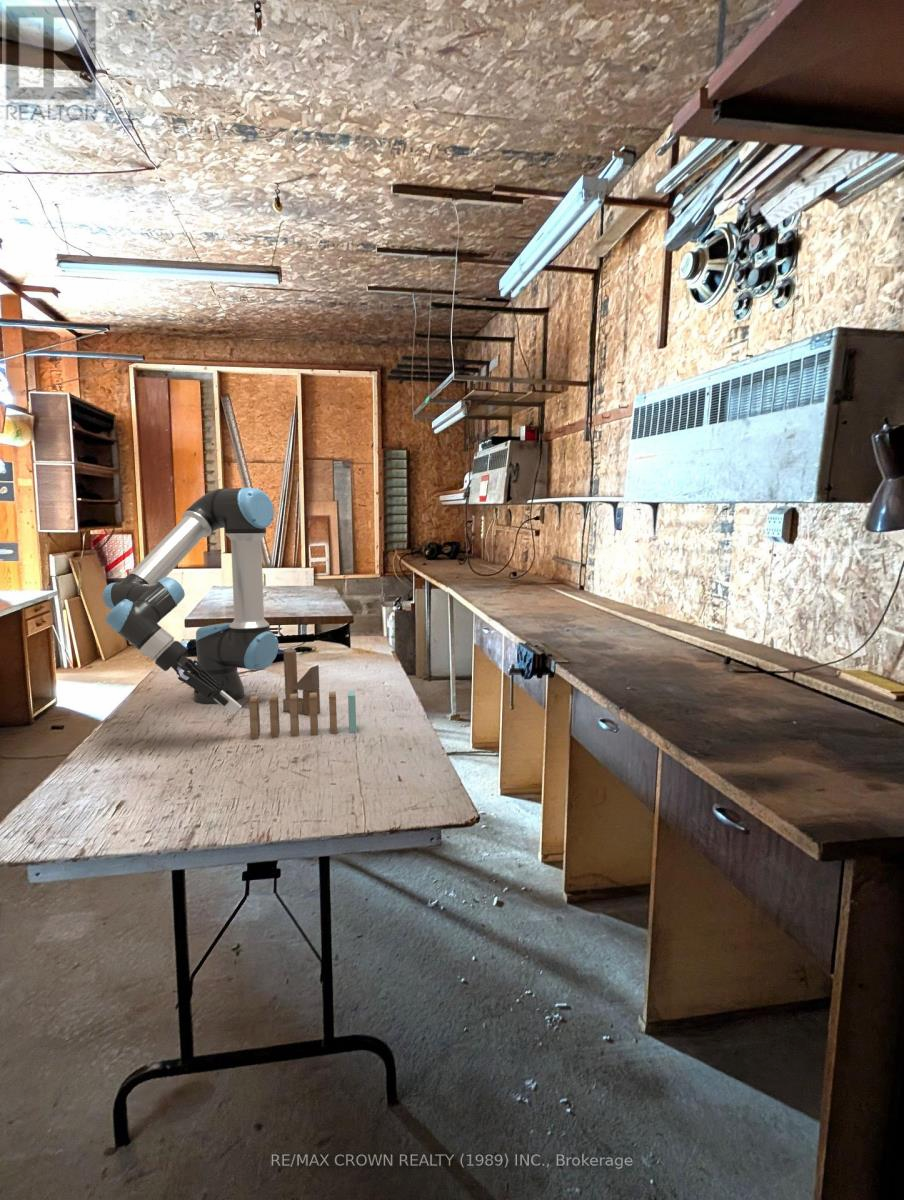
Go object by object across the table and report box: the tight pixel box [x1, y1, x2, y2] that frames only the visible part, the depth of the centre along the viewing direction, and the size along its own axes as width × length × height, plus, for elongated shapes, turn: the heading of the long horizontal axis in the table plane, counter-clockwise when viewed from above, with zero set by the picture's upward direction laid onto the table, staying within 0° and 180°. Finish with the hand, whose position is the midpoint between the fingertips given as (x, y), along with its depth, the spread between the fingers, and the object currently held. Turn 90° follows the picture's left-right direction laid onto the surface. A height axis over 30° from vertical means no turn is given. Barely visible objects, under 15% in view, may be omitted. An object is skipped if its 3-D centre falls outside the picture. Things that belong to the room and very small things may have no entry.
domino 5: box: [328, 691, 338, 735], centre depth 173 cm, size 5×2×10 cm, turn 10°
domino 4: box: [309, 693, 319, 736], centre depth 172 cm, size 5×2×10 cm, turn 10°
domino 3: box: [289, 693, 300, 738], centre depth 171 cm, size 5×2×10 cm, turn 10°
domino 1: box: [248, 695, 261, 740], centre depth 169 cm, size 5×2×10 cm, turn 10°
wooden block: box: [282, 649, 321, 716], centre depth 189 cm, size 4×11×18 cm, turn 66°
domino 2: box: [268, 694, 281, 739], centre depth 170 cm, size 5×2×10 cm, turn 10°
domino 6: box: [347, 689, 357, 733], centre depth 174 cm, size 5×2×10 cm, turn 10°
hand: (237, 710), depth 168 cm, fingers closed
